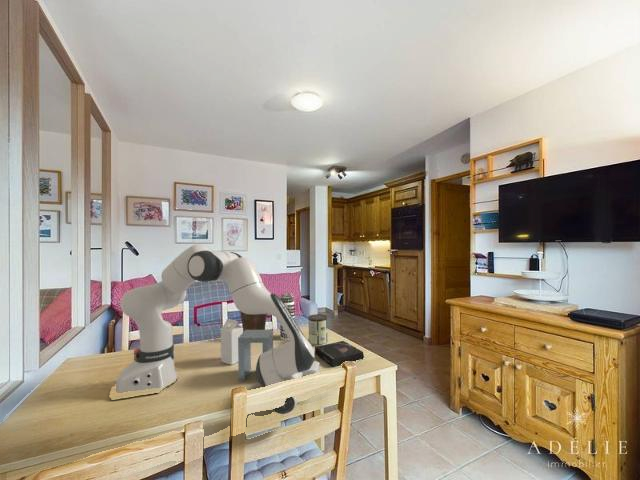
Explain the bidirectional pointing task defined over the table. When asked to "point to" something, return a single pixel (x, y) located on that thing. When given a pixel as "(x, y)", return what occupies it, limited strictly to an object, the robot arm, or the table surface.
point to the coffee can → (317, 329)
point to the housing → (245, 348)
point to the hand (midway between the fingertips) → (294, 360)
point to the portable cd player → (338, 353)
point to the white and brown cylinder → (289, 303)
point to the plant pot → (253, 321)
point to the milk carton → (230, 341)
